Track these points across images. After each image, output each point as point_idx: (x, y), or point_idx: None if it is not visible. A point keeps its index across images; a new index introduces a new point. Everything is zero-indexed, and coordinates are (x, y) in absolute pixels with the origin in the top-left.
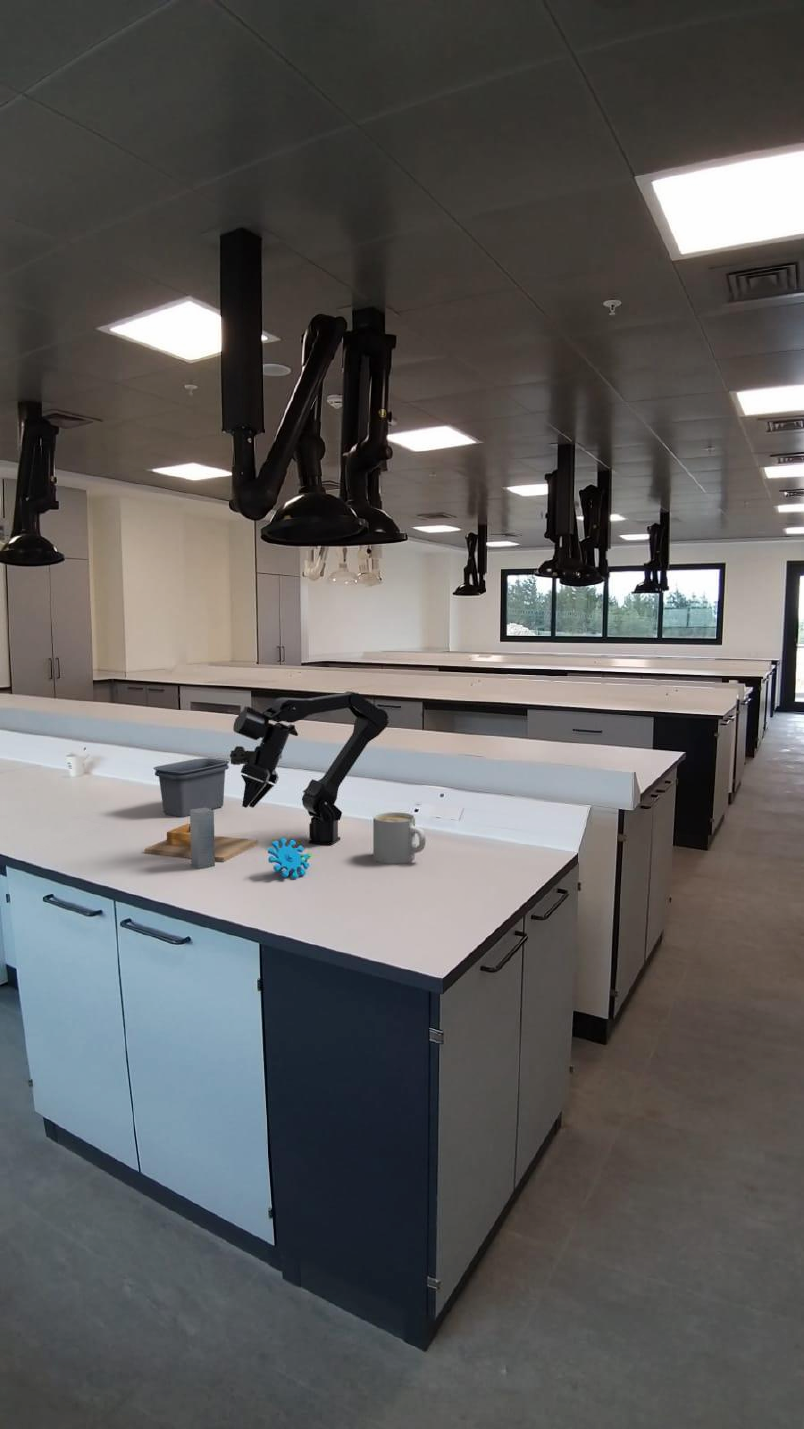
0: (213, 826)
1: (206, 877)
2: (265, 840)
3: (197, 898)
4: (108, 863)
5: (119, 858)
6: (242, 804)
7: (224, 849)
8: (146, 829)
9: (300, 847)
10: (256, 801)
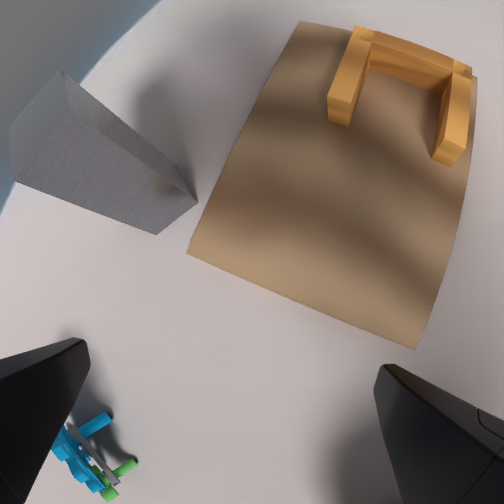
0: (66, 199)
1: (81, 233)
2: (454, 367)
3: (8, 244)
4: (219, 6)
5: (255, 7)
6: (67, 340)
7: (289, 237)
8: (491, 19)
9: (89, 487)
10: (388, 432)
